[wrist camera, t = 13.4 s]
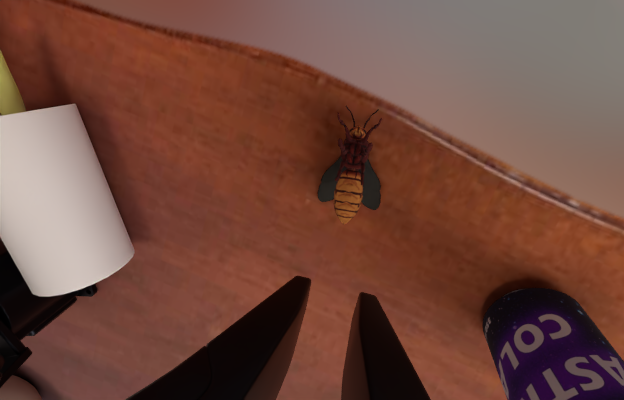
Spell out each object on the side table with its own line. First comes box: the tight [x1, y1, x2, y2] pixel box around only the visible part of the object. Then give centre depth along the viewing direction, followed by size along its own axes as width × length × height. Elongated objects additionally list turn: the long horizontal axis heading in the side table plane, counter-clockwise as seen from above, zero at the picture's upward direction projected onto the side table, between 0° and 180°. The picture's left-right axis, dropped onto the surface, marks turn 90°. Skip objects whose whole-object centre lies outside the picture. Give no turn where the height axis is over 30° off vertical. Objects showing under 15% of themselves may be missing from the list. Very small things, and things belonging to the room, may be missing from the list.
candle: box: [0, 50, 135, 297], centre depth 20 cm, size 6×6×15 cm
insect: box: [318, 106, 382, 224], centre depth 18 cm, size 4×6×5 cm, turn 175°
